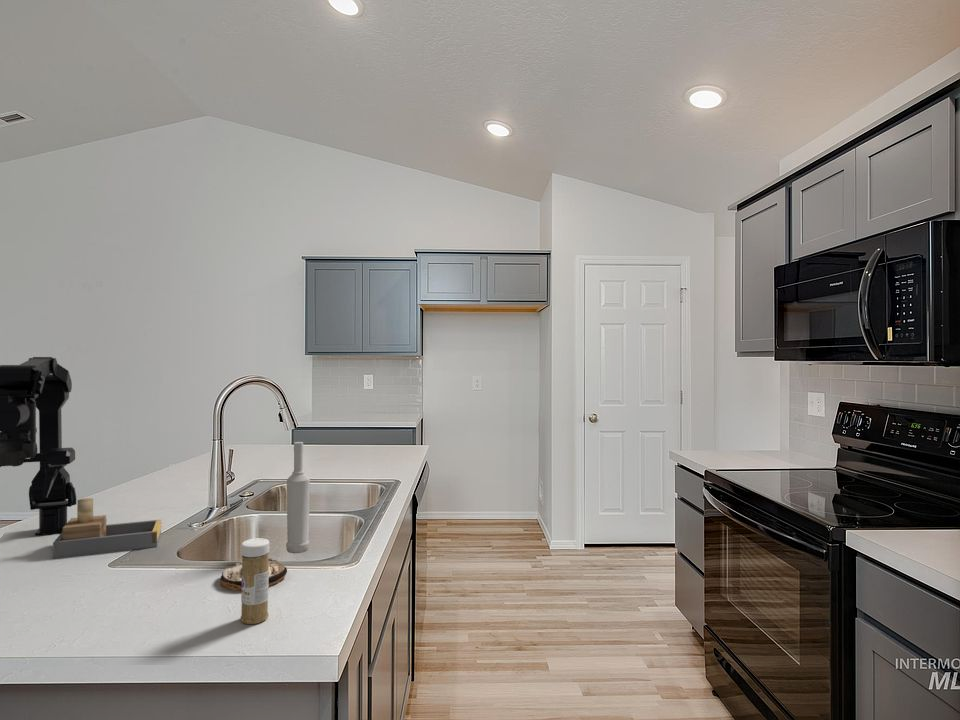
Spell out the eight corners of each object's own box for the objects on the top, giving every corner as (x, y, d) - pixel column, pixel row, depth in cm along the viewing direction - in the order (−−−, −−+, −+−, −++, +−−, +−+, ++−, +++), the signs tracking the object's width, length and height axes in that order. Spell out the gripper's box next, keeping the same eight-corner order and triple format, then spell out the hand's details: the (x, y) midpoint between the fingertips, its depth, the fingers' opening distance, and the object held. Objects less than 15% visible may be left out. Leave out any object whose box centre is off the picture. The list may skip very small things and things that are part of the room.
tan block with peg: (71, 539, 136) (71, 497, 136) (106, 535, 139) (106, 494, 139) (62, 550, 129) (62, 505, 129) (100, 546, 132) (100, 502, 132)
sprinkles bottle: (235, 619, 99) (236, 541, 99) (260, 610, 103) (260, 535, 103) (249, 628, 96) (249, 547, 96) (274, 618, 100) (274, 541, 100)
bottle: (314, 548, 135) (314, 441, 135) (298, 555, 131) (299, 445, 130) (297, 544, 138) (297, 440, 137) (281, 551, 133) (281, 443, 133)
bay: (64, 543, 137) (65, 528, 137) (161, 533, 145) (161, 519, 145) (52, 558, 127) (52, 542, 127) (156, 546, 135) (156, 531, 135)
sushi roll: (298, 588, 114) (298, 567, 114) (215, 602, 107) (214, 579, 107) (288, 562, 127) (288, 544, 127) (213, 573, 121) (213, 553, 121)
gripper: (-57, 432, 109) (-56, 514, 109) (63, 428, 117) (63, 505, 117) (-33, 425, 119) (-33, 500, 119) (75, 421, 127) (75, 492, 127)
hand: (18, 499), depth 120 cm, fingers open, 9 cm apart
